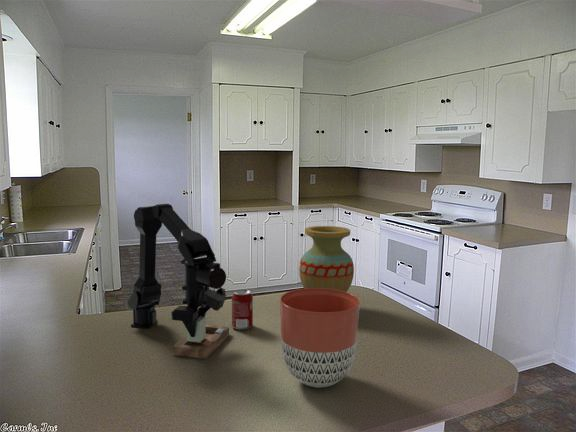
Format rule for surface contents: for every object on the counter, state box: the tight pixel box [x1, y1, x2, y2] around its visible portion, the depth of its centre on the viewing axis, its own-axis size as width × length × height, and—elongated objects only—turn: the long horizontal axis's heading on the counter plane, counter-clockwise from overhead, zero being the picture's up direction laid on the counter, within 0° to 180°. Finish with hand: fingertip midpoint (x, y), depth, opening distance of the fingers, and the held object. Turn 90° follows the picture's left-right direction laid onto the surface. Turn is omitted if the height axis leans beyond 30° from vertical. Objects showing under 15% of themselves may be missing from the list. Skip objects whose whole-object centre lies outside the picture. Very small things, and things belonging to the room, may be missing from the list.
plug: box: [186, 316, 206, 342], centre depth 132 cm, size 4×4×6 cm
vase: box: [298, 225, 355, 292], centre depth 167 cm, size 20×20×30 cm
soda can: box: [231, 288, 254, 331], centre depth 150 cm, size 7×7×12 cm
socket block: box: [172, 323, 230, 360], centre depth 137 cm, size 10×18×3 cm, turn 167°
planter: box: [279, 287, 361, 389], centre depth 114 cm, size 20×20×21 cm
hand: (196, 334), depth 132 cm, fingers closed on plug, 4 cm apart
